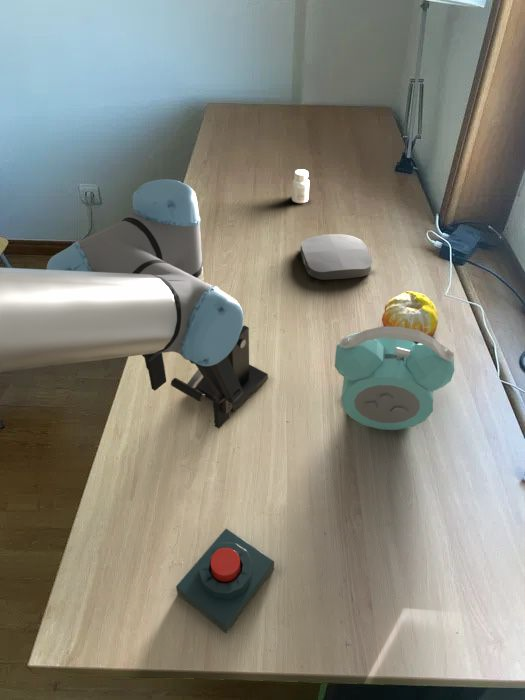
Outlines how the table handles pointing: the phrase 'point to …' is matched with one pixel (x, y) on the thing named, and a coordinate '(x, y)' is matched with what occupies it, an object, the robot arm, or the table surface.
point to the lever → (190, 386)
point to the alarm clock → (391, 376)
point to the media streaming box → (335, 256)
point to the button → (225, 565)
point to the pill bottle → (300, 186)
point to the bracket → (239, 371)
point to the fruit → (411, 313)
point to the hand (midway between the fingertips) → (189, 403)
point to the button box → (225, 597)
